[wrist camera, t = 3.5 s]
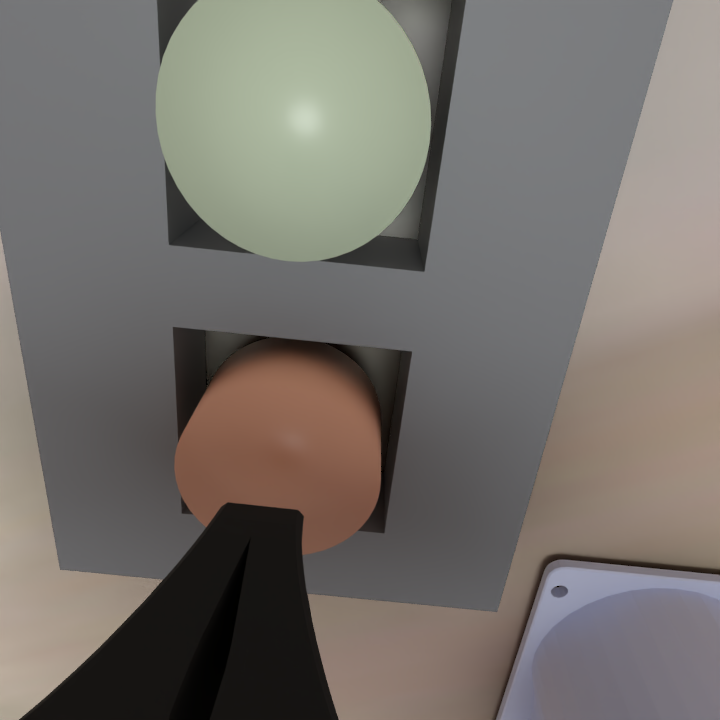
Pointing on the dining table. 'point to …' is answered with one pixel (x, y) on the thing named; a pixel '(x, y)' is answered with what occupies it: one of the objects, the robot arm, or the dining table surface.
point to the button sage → (293, 122)
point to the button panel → (314, 283)
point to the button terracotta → (286, 439)
